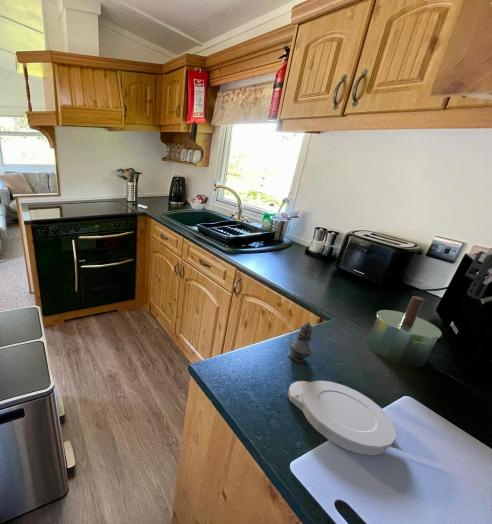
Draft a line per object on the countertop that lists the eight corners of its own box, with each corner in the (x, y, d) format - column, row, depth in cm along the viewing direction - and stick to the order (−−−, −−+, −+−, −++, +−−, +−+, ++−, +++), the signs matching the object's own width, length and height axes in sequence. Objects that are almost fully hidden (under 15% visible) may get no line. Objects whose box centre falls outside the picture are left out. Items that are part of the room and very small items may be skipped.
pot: (408, 343, 94) (421, 315, 91) (437, 380, 78) (455, 348, 74) (359, 331, 99) (369, 304, 95) (377, 365, 82) (390, 333, 79)
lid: (303, 373, 77) (305, 364, 76) (398, 425, 63) (403, 415, 62) (273, 406, 66) (276, 396, 65) (381, 477, 52) (387, 465, 51)
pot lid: (425, 320, 89) (437, 293, 86) (451, 346, 76) (467, 316, 73) (369, 308, 94) (378, 283, 91) (384, 331, 81) (396, 302, 78)
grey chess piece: (283, 357, 83) (293, 321, 79) (290, 348, 87) (301, 314, 83) (305, 367, 79) (317, 330, 75) (312, 358, 83) (323, 322, 79)
